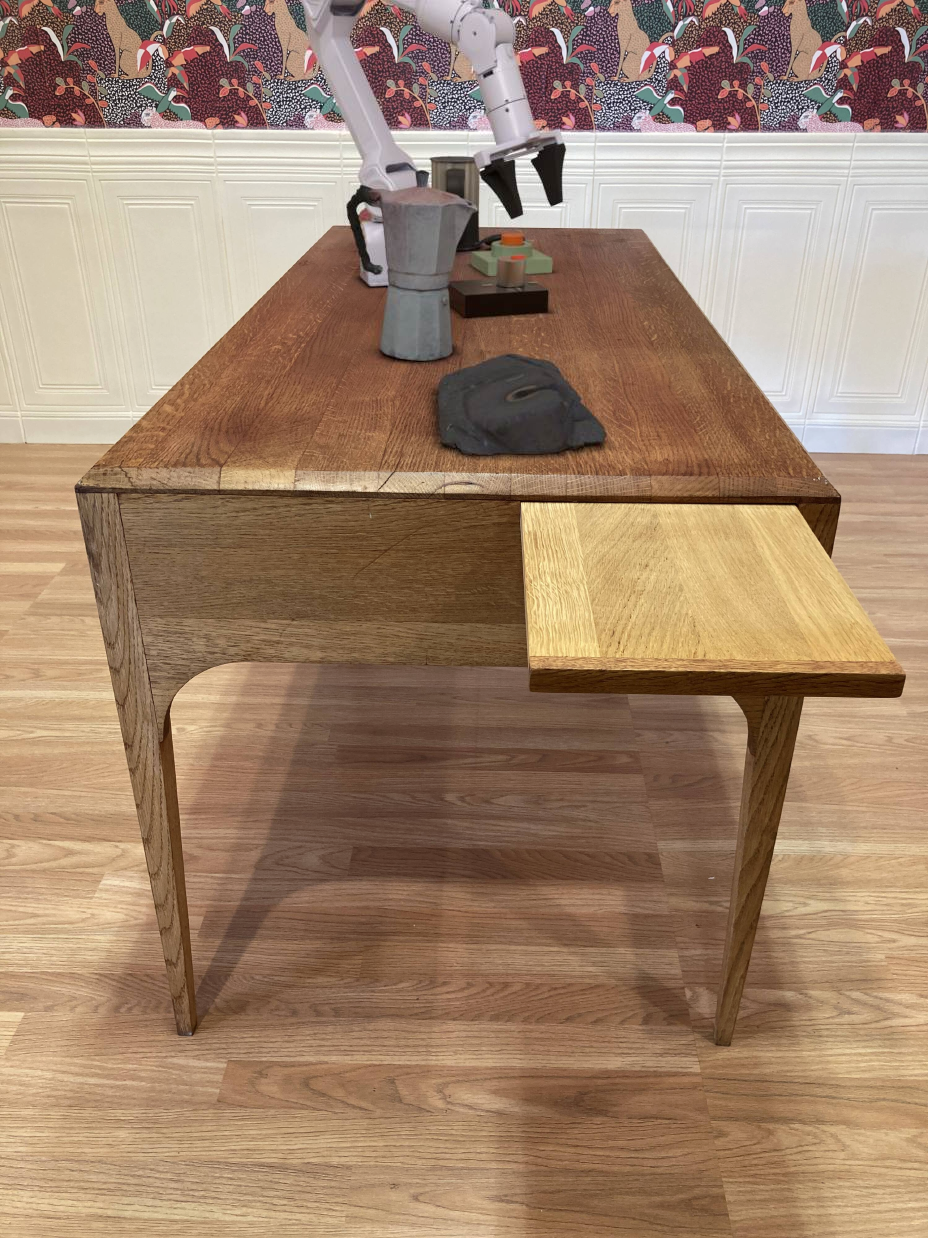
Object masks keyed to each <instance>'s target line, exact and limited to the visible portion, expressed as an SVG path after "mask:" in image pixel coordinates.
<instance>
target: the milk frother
mask: <svg viewBox="0 0 928 1238" xmlns="http://www.w3.org/2000/svg"><path fill="white" fill-rule="evenodd" d="M429 160H430V163H431V164H430V167H431V170H430V171H431V175H430V176H431V178H430V179H431V184H430V185H431V187H430V188H434V189H437V190H441V191H444V192H448V193H451V194H455V195H458V196H459V197H460V198H463V199H466V200H469V201H471V202H472V204H474V205H476V207H477V209H478V211H475V212H474V213H473V214H472V215H471V217H470V219H469V221H468V223H467V226H466V228H465V230H464V232H463V234H462V237H461V239H460V240H459V242H458V244H457V247H456V251H471V250H475V249H479V248H480V247H482V246H481V245H483V244H484V245H485V246H487V247H491V245H492V243H493V242H495V241H501V235H502V234H503V233H499V234H492V235H490V236H487V237H484V238H483V239H481V240H480V179H481V176H480V173H479V172H480V171H481V169H477V166H476V162H475V159H474V156H464V155H458V156H457V155H455V156H451V155H447V156H446V155H445V156H444V155H443V156H433V157H429ZM525 239H526V238H525V236H523V241H526V240H525Z"/></svg>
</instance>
